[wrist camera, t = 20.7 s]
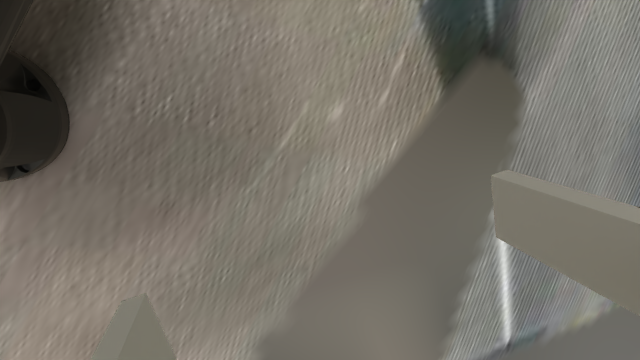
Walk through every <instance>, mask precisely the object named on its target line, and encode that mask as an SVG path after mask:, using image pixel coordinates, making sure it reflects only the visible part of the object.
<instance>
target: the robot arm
mask: <svg viewBox="0 0 640 360" xmlns="http://www.w3.org/2000/svg"><path fill="white" fill-rule="evenodd" d="M32 2H33V0H0V182H4V181H10V180H15V179H18V178H22V177H24V176H27V175H29V174H32V173H34V172H36V171H39V170H40V169H42V168H44V167H45V166H47V165H48V164H50V163H51V162H52V161H53V160H54V159H55V158H56V157H57V156H58V154H59V153H60V152H61V150H62V149H63V147H64V145H65V142H66V140H67V136H68V131H69V116H68V111H67V107H66V104H65V101H64V99H63V97H62V95H61V93H60V91H59V89H58V88H57V86H56V85H55V83H54V82H53V81H52V80H51V79H50V77H49V76H48V75H47V74H46V73H45V72H44V71H43V70H41V69H40V68H39V67H38V66H37V65H35V64H34V63H32V62H31V61H29V60H28V59H26V58H24V57H23V56H21V55H19V54H17V53H15V52H12V51H10V50H9V48H10V46H11V44H12V42H13V40H14V38H15V36H16V34H17V32H18V30H19V28H20V26H21V24H22V22H23V20H24V18H25V16H26V14H27V12H28V10H29V8H30V6H31V4H32ZM491 185H492V197H493V208H494V220H495V231H496V237H497V238H499V239H500V240H502V241H504V242H506V243H508V244H510V245H511V246H513V247H515V248H517V249H519V250H520V251H522V252H524V253H526V254H528V255H529V256H531V257H533V258H535V259H537V260H539V261H540V262H542V263H544V264H546V265H548V266H549V267H551V268H553V269H555V270H557V271H558V272H560V273H562V274H564V275H566V276H568V277H569V278H571V279H573V280H575V281H577V282H578V283H580V284H582V285H584V286H586V287H587V288H589V289H591V290H593V291H595V292H596V293H598V294H600V295H602V296H604V297H606V298H607V299H609V300H611V301H613V302H615V303H616V304H618V305H620V306H622V307H624V308H625V309H627V310H629V311H631V312H633V313H635V314H636V315H638V316H640V207H636V206H632V205H628V204H625V203H621V202H618V201H614V200H611V199H607V198H604V197H600V196H597V195H593V194H590V193H586V192H583V191H579V190H576V189H572V188H569V187H565V186H562V185H558V184H555V183H551V182H548V181H544V180H541V179H537V178H534V177H530V176H527V175H523V174H520V173H516V172H513V171H509V170H505V171H502V172H500V173H497V174H494V175H491ZM176 358H177V357H176V355H175V353H174V351H173V349H172V347H171V345H170V343H169V341H168V338H167V336H166V334H165V332H164V330H163V328H162V326H161V324H160V322H159V320H158V317H157V315H156V313H155V311H154V309H153V307H152V305H151V303H150V301H149V299H148V296H147V294H146V293H144V294H142V295H139V296H136V297H133V298H130V299H127V300H124V301H121V303H120V305H119V307H118V309H117V311H116V313H115V315H114V316H113V318H112V320H111V322H110V324H109V326H108V328H107V330H106V332H105V334H104V335H103V337H102V339H101V341H100V343H99V345H98V347H97V349H96V351H95V352H94V354H93V356H92V358H91V360H176Z"/></svg>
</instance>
